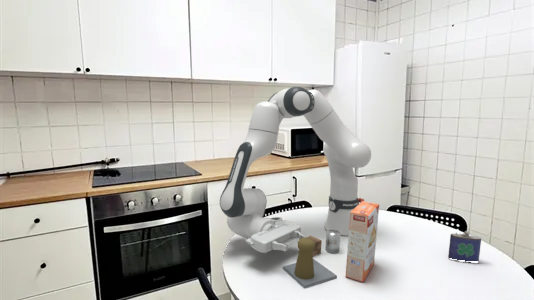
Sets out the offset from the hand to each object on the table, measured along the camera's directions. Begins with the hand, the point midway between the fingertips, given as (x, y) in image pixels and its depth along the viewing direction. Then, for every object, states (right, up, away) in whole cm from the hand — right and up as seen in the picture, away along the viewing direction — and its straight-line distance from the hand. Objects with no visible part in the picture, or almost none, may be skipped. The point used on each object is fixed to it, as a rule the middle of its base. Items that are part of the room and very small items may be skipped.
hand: (296, 243), depth 97 cm
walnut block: (+6, -7, +11) cm, 15 cm away
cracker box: (+21, -9, 0) cm, 22 cm away
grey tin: (+14, -7, +14) cm, 21 cm away
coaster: (+4, -9, -2) cm, 10 cm away
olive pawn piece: (+2, -8, -4) cm, 9 cm away
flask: (+58, -9, +8) cm, 60 cm away
